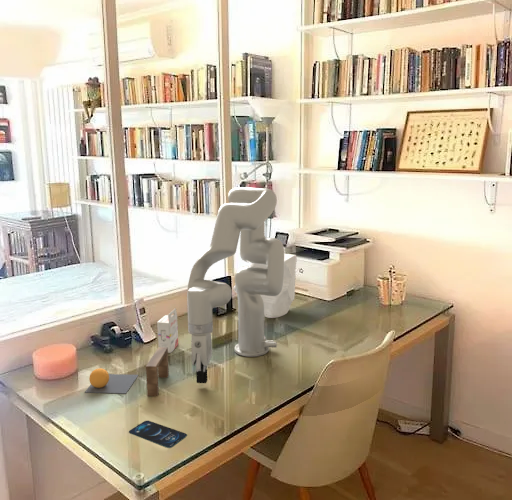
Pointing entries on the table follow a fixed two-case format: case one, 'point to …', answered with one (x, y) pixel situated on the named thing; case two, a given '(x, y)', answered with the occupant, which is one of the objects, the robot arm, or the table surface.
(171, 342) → the ink cartridge box
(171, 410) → the table surface
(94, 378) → the ball
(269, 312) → the white curved block
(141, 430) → the smartphone
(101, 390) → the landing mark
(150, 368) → the bridge
